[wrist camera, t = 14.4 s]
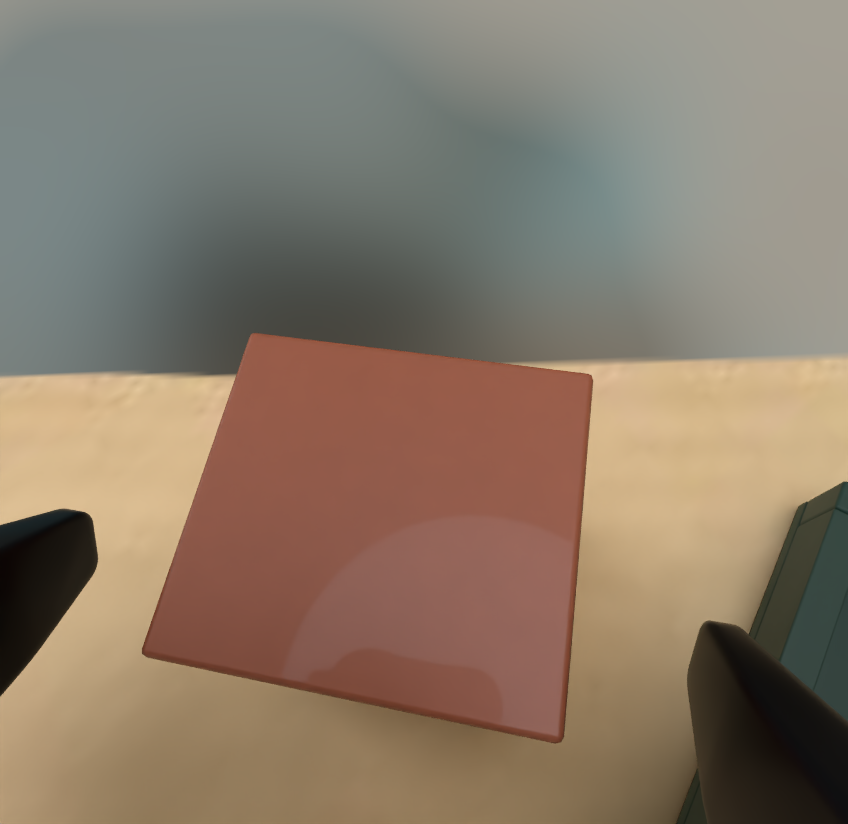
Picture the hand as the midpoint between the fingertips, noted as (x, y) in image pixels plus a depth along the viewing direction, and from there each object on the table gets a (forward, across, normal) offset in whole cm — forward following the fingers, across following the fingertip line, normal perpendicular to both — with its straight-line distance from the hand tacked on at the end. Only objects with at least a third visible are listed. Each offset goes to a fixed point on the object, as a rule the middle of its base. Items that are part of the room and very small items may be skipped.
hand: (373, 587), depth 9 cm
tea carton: (+6, 0, +5) cm, 8 cm away
